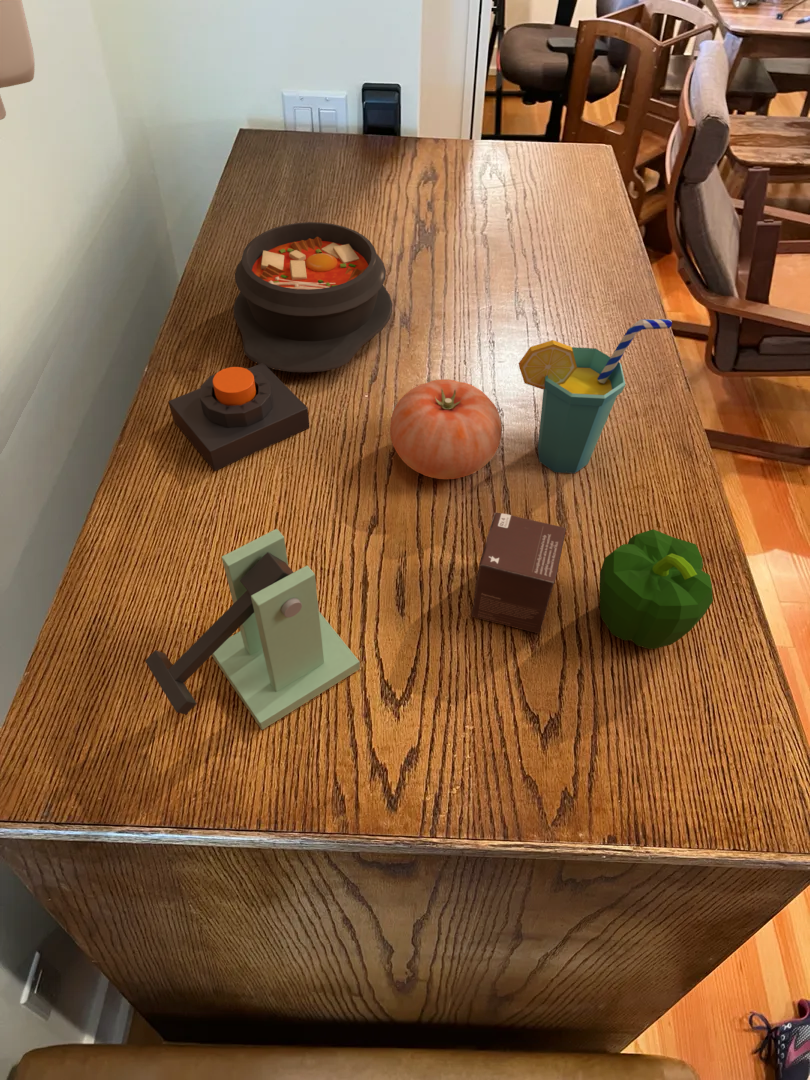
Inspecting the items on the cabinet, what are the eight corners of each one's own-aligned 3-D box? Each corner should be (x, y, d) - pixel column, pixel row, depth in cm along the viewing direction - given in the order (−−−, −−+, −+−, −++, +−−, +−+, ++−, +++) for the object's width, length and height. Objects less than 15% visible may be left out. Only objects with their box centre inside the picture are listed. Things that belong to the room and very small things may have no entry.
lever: (192, 716, 53) (169, 711, 51) (160, 665, 56) (138, 658, 54) (312, 595, 53) (295, 585, 51) (275, 549, 55) (257, 538, 53)
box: (539, 636, 64) (554, 584, 58) (469, 618, 65) (477, 564, 59) (552, 580, 68) (567, 526, 62) (485, 564, 69) (495, 509, 63)
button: (227, 411, 75) (224, 397, 73) (208, 390, 77) (205, 376, 75) (263, 396, 76) (261, 382, 75) (243, 375, 78) (241, 361, 77)
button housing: (214, 471, 75) (206, 437, 72) (173, 421, 80) (163, 386, 76) (309, 427, 79) (306, 393, 76) (265, 382, 84) (260, 348, 80)
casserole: (377, 394, 83) (377, 328, 77) (209, 378, 84) (195, 311, 78) (403, 269, 99) (405, 206, 93) (262, 257, 100) (253, 194, 94)
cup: (611, 415, 82) (650, 290, 70) (650, 464, 77) (697, 339, 66) (492, 443, 79) (511, 317, 67) (524, 495, 74) (551, 370, 62)
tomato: (418, 511, 72) (421, 449, 66) (372, 439, 79) (371, 376, 72) (517, 477, 76) (529, 415, 69) (465, 411, 82) (472, 348, 76)
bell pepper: (577, 584, 67) (603, 508, 60) (669, 580, 68) (706, 504, 60) (600, 668, 62) (631, 596, 54) (699, 662, 63) (743, 591, 55)
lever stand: (261, 730, 58) (237, 639, 48) (211, 656, 62) (179, 557, 52) (360, 669, 61) (356, 572, 52) (306, 602, 65) (293, 501, 56)
